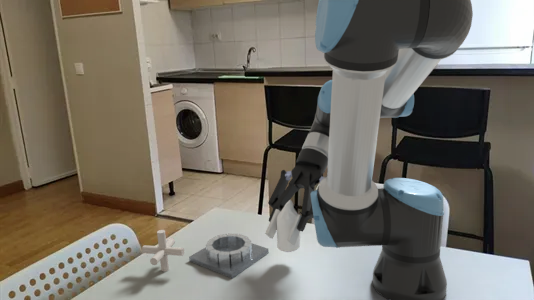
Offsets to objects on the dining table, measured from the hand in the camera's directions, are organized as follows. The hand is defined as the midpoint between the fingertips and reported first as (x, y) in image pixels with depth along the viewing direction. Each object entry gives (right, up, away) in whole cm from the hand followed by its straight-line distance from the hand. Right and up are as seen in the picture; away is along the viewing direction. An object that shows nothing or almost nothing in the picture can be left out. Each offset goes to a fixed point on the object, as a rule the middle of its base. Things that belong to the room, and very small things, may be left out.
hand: (279, 239), depth 101 cm
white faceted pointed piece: (+2, -3, +4) cm, 5 cm away
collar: (-12, -6, +8) cm, 16 cm away
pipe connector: (-27, -8, +4) cm, 29 cm away
